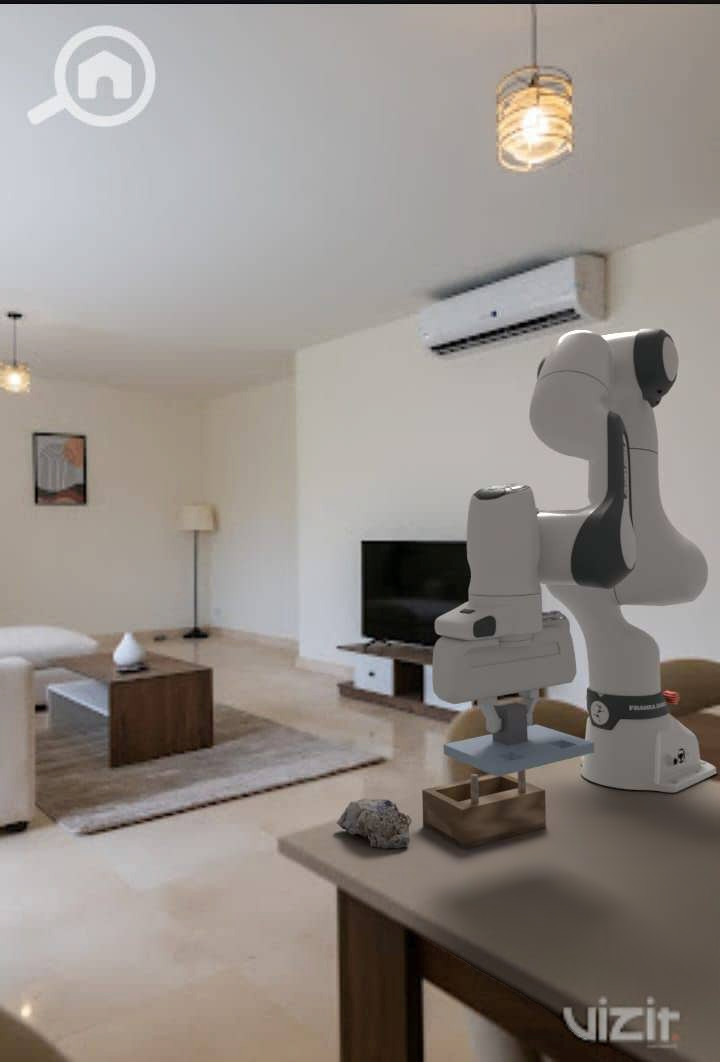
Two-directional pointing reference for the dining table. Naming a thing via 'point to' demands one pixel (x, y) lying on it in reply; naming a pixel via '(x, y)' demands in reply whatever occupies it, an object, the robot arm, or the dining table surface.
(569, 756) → the grey peg base plate
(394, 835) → the mineral specimen
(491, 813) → the wooden box with pegs
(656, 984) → the dining table surface
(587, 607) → the robot arm
